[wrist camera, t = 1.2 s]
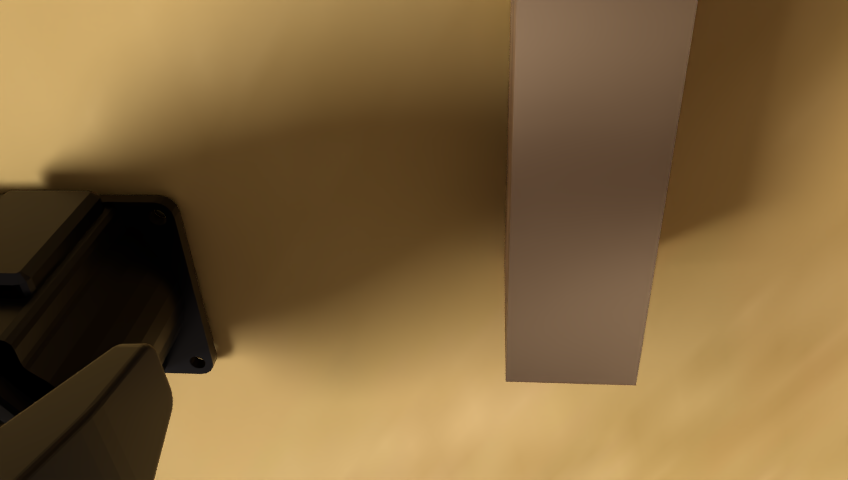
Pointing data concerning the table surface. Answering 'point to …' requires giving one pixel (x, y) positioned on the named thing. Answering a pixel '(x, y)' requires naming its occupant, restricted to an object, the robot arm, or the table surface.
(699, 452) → the table surface
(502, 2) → the table surface
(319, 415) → the table surface
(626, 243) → the brown angular piece
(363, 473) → the table surface
